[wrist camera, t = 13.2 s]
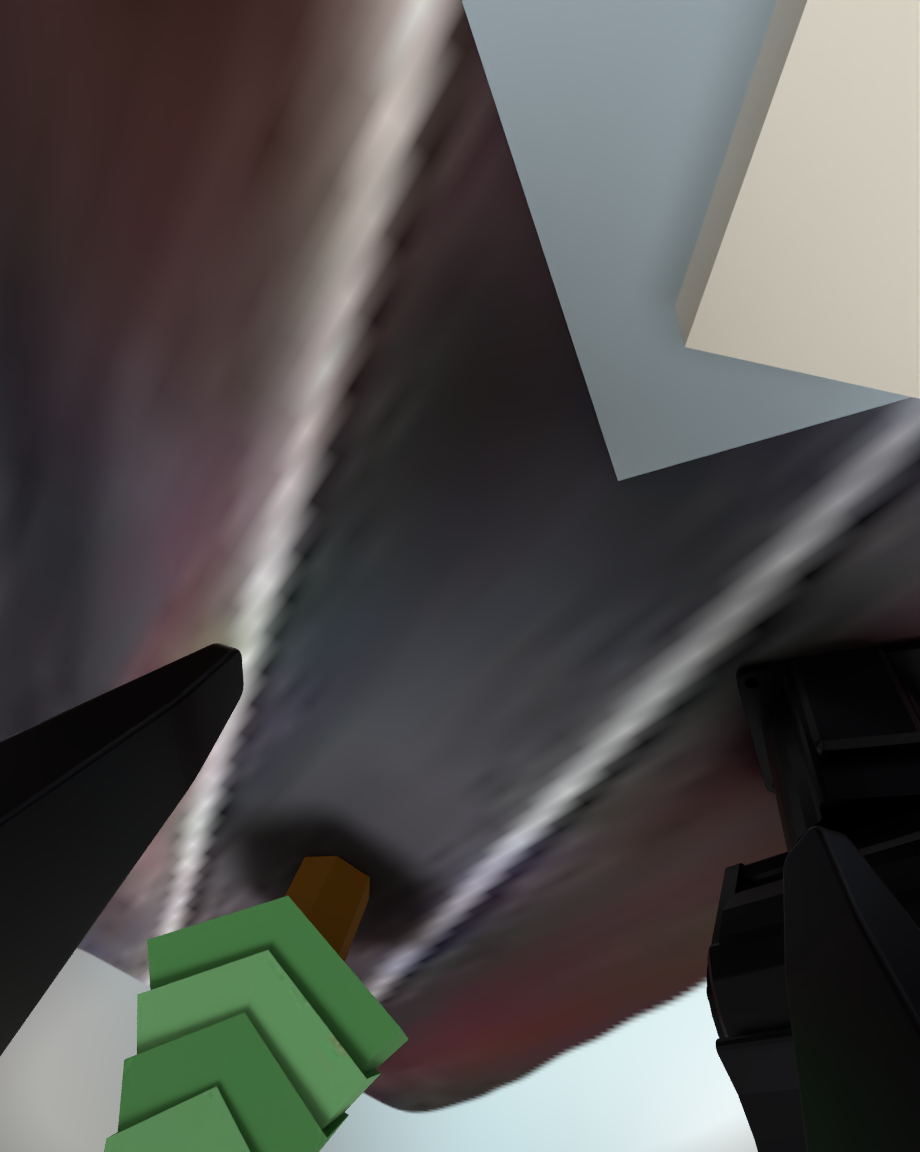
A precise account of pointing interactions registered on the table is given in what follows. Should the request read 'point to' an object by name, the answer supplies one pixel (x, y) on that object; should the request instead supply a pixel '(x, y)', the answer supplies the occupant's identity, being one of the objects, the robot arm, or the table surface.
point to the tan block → (819, 203)
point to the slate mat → (640, 209)
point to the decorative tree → (256, 1026)
